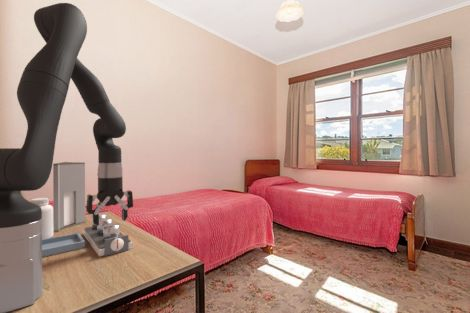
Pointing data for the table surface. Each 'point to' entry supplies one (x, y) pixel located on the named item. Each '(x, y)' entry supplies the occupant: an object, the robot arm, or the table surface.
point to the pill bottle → (45, 216)
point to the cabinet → (68, 194)
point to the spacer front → (110, 231)
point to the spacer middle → (102, 223)
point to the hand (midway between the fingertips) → (111, 222)
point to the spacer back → (99, 218)
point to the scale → (107, 242)
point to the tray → (62, 244)
